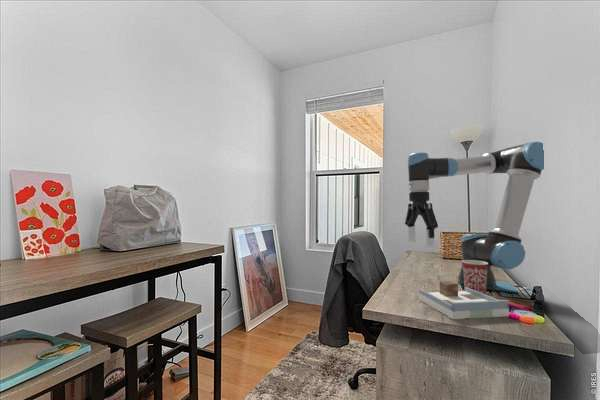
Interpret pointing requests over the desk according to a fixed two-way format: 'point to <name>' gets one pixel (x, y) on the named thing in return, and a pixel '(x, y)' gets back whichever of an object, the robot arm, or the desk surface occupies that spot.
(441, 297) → the tray
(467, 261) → the mug
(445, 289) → the walnut cube
